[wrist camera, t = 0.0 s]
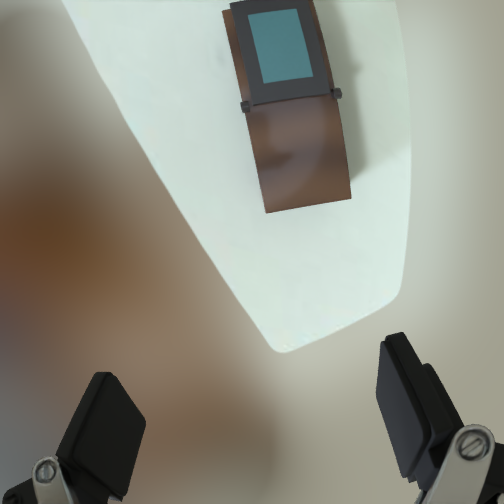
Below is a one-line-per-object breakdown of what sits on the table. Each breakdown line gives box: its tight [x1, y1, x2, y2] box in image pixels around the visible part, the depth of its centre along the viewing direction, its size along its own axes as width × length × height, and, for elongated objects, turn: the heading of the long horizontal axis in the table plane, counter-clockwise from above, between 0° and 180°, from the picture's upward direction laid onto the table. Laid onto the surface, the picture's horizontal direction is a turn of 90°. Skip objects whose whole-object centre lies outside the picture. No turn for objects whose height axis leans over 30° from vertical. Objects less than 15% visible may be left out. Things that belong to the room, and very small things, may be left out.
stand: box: [222, 0, 351, 213], centre depth 31 cm, size 24×10×7 cm, turn 12°
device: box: [230, 0, 331, 106], centre depth 24 cm, size 16×8×4 cm, turn 12°
